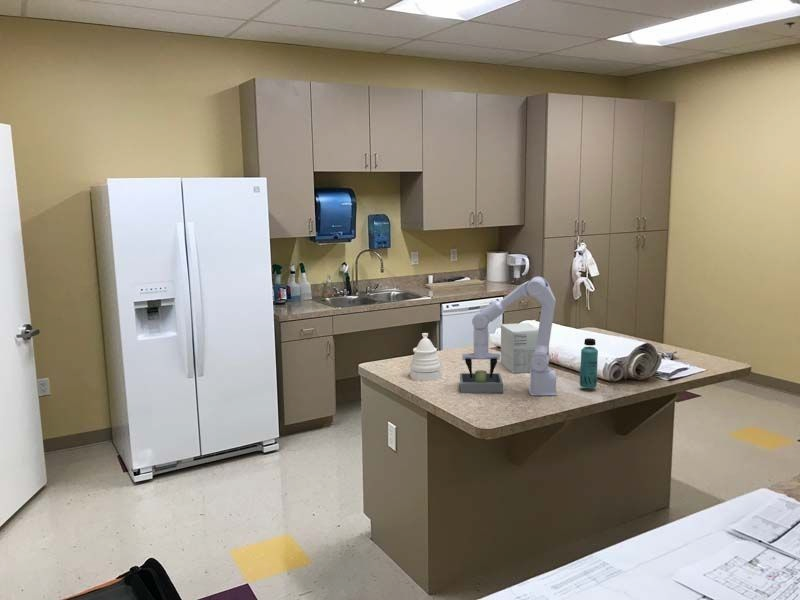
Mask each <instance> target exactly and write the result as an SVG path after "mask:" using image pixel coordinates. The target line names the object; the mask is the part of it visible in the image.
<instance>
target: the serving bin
mask: <svg viewBox="0 0 800 600" xmlns="http://www.w3.org/2000/svg"><path fill="white" fill-rule="evenodd" d="M459 386H460V394H461V393H472V394H481V395H482V394H489V395H490V394H496V395H497V394H499V395H501V394H504V381H503V379H502V375H501V373H500V372H498V373H497V372H493V375H492V378H490V372H487V383H475V372H472V378H470V372H466V373H465V372H464V373H463V372H459Z"/></svg>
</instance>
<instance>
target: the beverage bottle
mask: <svg viewBox="0 0 800 600" xmlns="http://www.w3.org/2000/svg"><path fill="white" fill-rule="evenodd" d="M594 346H596V338H592V337H591V338H584V347H583V348H581V350H580V367H579V368H580V372H579V373H580V374H579V385H580V387H581V388H584V389H594V388H596V387H597V385H598V358H599V356H598V355H599V354H598V353H599V350H598V349H597V348H596V347H594Z"/></svg>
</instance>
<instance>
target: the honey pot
mask: <svg viewBox="0 0 800 600" xmlns="http://www.w3.org/2000/svg"><path fill="white" fill-rule="evenodd" d="M421 336H422V339H420V341H419V342H418V343H417V346H416V347H413V349H412V352H413V353H414V354H413V356H412V359H411V362H410V368H409V371H410V372H409V373H410V379H412V380H414V379H415V380H414V381H418V380H421V381H420V382H432V380H433V381H437V380H440V379H441V378H442V364H441V362H440V359H439V356H438V354H437V351H438V348H437V347H435V346H434V344H433V343H432V341H431V339H429V338H428V337H429V332H423V333H421Z"/></svg>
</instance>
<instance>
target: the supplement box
mask: <svg viewBox="0 0 800 600" xmlns="http://www.w3.org/2000/svg"><path fill="white" fill-rule="evenodd" d="M538 330H539V327H536V326H534V325H532V324H530V323H529V322H525V323H501V324H500V364H501V365H503V367H505V368H506V369H507V370H509V372H510V373H512V374H519V373H531V368H532V367H531V360H532V358H533V357H534V353H535V349H536V344H537V337H538Z"/></svg>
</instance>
